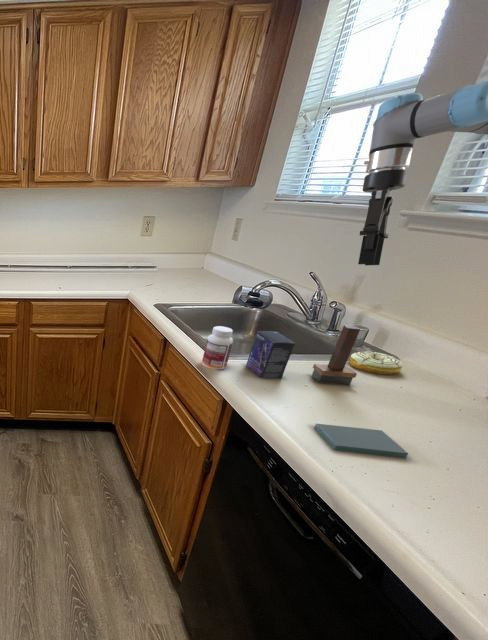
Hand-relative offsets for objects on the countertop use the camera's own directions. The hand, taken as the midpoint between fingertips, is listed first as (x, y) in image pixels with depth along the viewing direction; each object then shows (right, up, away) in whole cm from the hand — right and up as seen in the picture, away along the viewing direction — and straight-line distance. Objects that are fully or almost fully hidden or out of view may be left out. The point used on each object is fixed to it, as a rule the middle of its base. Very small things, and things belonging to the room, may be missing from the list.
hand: (369, 264), depth 103 cm
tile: (-21, -41, -20) cm, 50 cm away
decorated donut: (+12, -26, +13) cm, 31 cm away
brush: (-6, -29, +5) cm, 30 cm away
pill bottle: (-31, -25, +13) cm, 42 cm away
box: (-20, -27, +9) cm, 35 cm away
